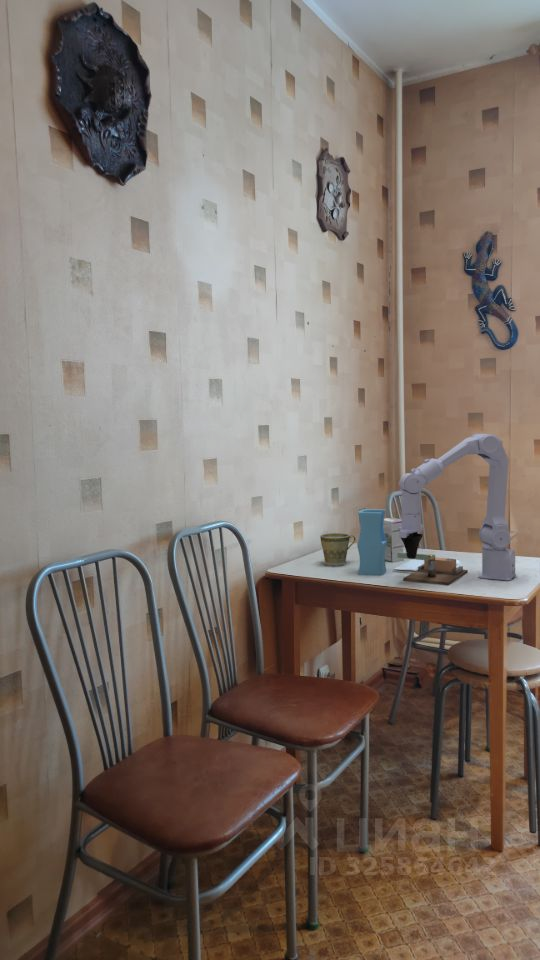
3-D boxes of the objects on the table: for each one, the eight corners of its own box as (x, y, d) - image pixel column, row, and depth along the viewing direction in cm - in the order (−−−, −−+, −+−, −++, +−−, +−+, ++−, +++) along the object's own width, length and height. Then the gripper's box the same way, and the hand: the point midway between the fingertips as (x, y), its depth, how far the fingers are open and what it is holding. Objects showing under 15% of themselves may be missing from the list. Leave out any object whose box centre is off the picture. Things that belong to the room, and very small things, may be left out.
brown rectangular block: (456, 571, 223) (456, 558, 223) (452, 574, 220) (452, 560, 219) (428, 568, 228) (428, 556, 227) (424, 571, 224) (424, 558, 224)
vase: (382, 575, 223) (381, 512, 222) (357, 574, 226) (356, 512, 224) (387, 570, 231) (386, 509, 229) (363, 569, 234) (362, 509, 232)
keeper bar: (436, 560, 217) (436, 554, 217) (433, 561, 215) (433, 556, 215) (399, 556, 223) (399, 551, 223) (396, 558, 221) (396, 553, 221)
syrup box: (404, 560, 247) (403, 518, 245) (391, 562, 243) (391, 520, 242) (392, 557, 251) (392, 517, 250) (380, 560, 248) (379, 518, 247)
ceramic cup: (329, 568, 237) (329, 538, 236) (315, 563, 246) (315, 534, 245) (363, 564, 242) (362, 535, 241) (348, 559, 251) (347, 531, 250)
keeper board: (467, 572, 225) (467, 555, 224) (448, 585, 209) (448, 566, 208) (425, 568, 232) (425, 551, 232) (403, 580, 216) (403, 562, 216)
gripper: (407, 509, 221) (407, 552, 223) (389, 515, 209) (389, 561, 210) (429, 510, 218) (429, 554, 219) (412, 516, 205) (412, 563, 207)
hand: (411, 558), depth 214 cm, fingers closed
